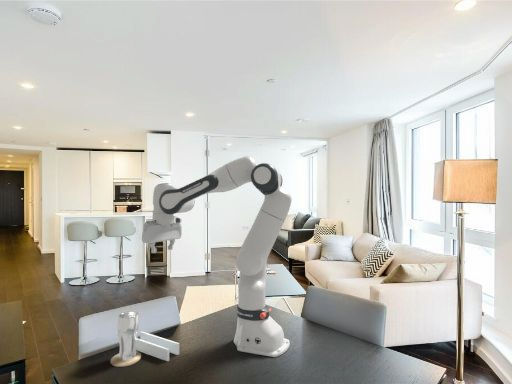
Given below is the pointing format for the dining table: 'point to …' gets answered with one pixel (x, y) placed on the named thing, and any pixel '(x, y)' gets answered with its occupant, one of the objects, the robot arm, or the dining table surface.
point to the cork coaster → (118, 363)
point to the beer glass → (127, 335)
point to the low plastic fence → (156, 346)
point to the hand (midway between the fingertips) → (162, 251)
